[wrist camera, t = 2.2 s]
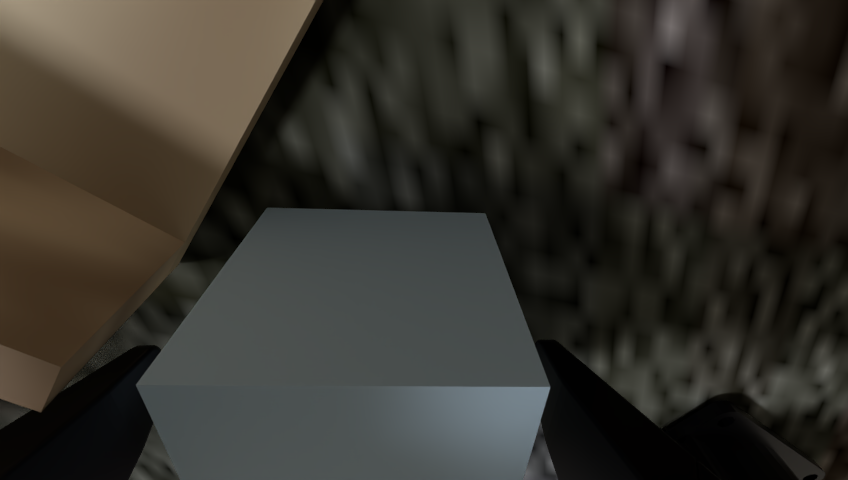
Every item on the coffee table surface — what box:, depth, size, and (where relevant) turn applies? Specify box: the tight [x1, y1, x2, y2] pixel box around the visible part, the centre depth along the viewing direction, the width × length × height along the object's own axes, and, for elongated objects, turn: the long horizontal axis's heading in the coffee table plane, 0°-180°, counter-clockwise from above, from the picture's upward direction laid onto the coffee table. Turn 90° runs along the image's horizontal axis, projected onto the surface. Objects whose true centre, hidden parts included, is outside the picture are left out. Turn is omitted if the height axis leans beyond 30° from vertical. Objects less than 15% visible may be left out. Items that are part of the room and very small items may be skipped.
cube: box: [136, 208, 550, 480], centre depth 8 cm, size 5×5×5 cm
